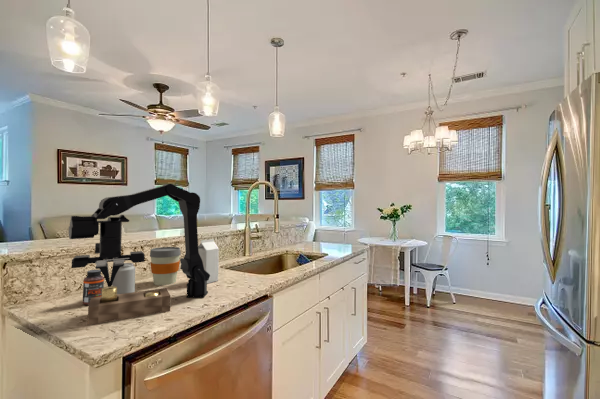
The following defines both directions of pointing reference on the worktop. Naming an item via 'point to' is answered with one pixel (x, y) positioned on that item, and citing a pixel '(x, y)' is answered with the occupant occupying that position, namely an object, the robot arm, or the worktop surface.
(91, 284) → the supplement bottle
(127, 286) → the can
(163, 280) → the reusable coffee cup
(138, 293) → the walnut block
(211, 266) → the milk carton
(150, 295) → the peg
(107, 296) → the peg
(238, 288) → the worktop surface
